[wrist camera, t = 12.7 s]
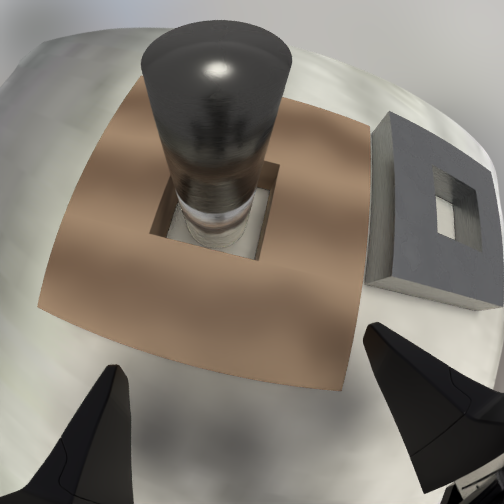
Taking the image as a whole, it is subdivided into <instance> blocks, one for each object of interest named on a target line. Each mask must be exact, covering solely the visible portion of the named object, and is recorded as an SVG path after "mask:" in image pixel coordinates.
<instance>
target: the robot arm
mask: <svg viewBox="0 0 504 504" xmlns="http://www.w3.org/2000/svg"><path fill="white" fill-rule="evenodd" d="M363 344H364V347H365V350H366V353H367V356H368V358H369V361H370V364H371V367H372V370H373V373H374V376H375V378H376V380H377V382H378V385H379V387H380V389H381V391H382V393H383V395H384V398H385V400H386V402H387V404H388V406H389V409H390V411H391V413H392V416H393V418H394V420H395V422H396V425H397V427H398V429H399V432H400V434H401V436H402V439H403V441H404V444H405V446H406V449H407V451H408V454H409V456H410V459H411V461H412V464H413V467H414V469H415V472H416V474H417V477H418V480H419V482H420V485H421V488H422V491H423V493H424V494H426V493H428V492H431V491H433V490H436V489H438V488H440V487H443V486H445V485H447V484H449V483H452V482H453V483H452V484H451V485H449V486H448V487H447V488H446V490H445V493H444V495H443V498H442V501H441V503H440V504H504V393H500V392H497V391H494V390H492V389H490V388H488V387H486V386H484V385H482V384H480V383H478V382H476V381H474V380H472V379H470V378H468V377H466V376H465V375H463V374H461V373H460V372H458V371H456V370H455V369H453V368H451V367H449V366H448V365H447V364H445V363H443V362H442V361H440V360H439V359H437V358H435V357H434V356H432V355H431V354H429V353H428V352H426V351H424V350H423V349H421V348H420V347H418V346H416V345H415V344H413V343H412V342H410V341H408V340H407V339H405V338H404V337H402V336H400V335H399V334H397V333H396V332H394V331H392V330H391V329H389V328H388V327H386V326H384V325H383V324H381V323H379V322H375V323H371V324H369V325H368V326H367V329H366V332H365V334H364V337H363ZM0 504H134V501H133V488H132V469H131V412H130V399H129V383H128V378H127V376H126V375H125V373H124V372H123V370H122V369H121V367H120V366H119V365H117V364H116V365H108V366H107V367H106V368H105V370H104V371H103V372H102V374H101V375H100V377H99V378H98V380H97V381H96V383H95V384H94V386H93V387H92V389H91V390H90V392H89V393H88V395H87V396H86V398H85V399H84V401H83V402H82V404H81V405H80V407H79V408H78V410H77V412H76V413H75V415H74V416H73V418H72V419H71V421H70V423H69V424H68V426H67V427H66V429H65V431H64V432H63V434H62V435H61V438H60V439H59V440H58V442H57V444H56V445H55V447H54V448H53V450H52V451H51V453H50V455H49V456H48V457H47V459H46V460H45V462H44V463H43V464H42V466H41V467H40V468H39V470H38V471H37V472H36V474H35V475H34V476H33V478H32V479H31V480H30V482H29V483H28V484H27V485H26V486H25V487H24V488H22V489H20V490H18V491H16V492H13V493H10V494H8V495H5V496H2V497H0Z"/></svg>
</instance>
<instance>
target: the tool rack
mask: <svg viewBox="0 0 504 504" xmlns="http://www.w3.org/2000/svg"><path fill="white" fill-rule="evenodd" d="M370 178H371V147H370V126H368V125H365V124H363V123H360V122H358V121H355V120H353V119H350V118H347V117H345V116H342V115H339V114H336V113H333V112H330V111H327V110H324V109H321V108H318V107H315V106H312V105H309V104H305V103H302V102H299V101H295V100H291V99H288V98H284V97H282V99H281V103H280V106H279V110H278V113H277V117H276V120H275V124H274V127H273V131H272V134H271V138H270V141H269V145H268V148H267V152H266V155H265V159H264V163H263V166H262V170H261V173H260V177H259V181H258V184H257V187H259V188H263V189H267V190H270V194H269V198H268V203H267V207H266V212H265V216H264V220H263V225H262V229H261V234H260V238H259V242H258V247H257V251H256V255H255V260H252V259H248V258H244V257H240V256H236V255H232V254H228V253H224V252H220V251H216V250H212V249H208V248H204V247H200V246H196V245H192V244H188V243H184V242H180V241H176V240H172V239H168V238H166V235H167V232H168V229H169V226H170V223H171V220H172V217H173V214H174V211H175V208H176V205H177V202H178V200H179V199H178V196H177V193H176V190H175V187H174V184H173V181H172V177H171V174H170V171H169V168H168V165H167V161H166V158H165V155H164V151H163V148H162V144H161V141H160V138H159V134H158V130H157V127H156V123H155V120H154V116H153V112H152V109H151V105H150V101H149V97H148V93H147V89H146V85H145V81H144V77H143V76H140V78H139V79H138V80H137V82H136V83H135V85H134V86H133V87H132V89H131V90H130V92H129V93H128V95H127V96H126V97H125V99H124V100H123V102H122V103H121V105H120V107H119V108H118V110H117V111H116V113H115V114H114V116H113V118H112V119H111V121H110V123H109V124H108V126H107V128H106V129H105V131H104V133H103V134H102V136H101V138H100V140H99V142H98V143H97V145H96V147H95V149H94V151H93V153H92V155H91V157H90V158H89V160H88V162H87V164H86V166H85V168H84V171H83V173H82V175H81V177H80V179H79V181H78V183H77V186H76V188H75V190H74V192H73V195H72V197H71V199H70V202H69V204H68V207H67V209H66V212H65V214H64V217H63V219H62V222H61V225H60V228H59V230H58V233H57V236H56V239H55V242H54V245H53V248H52V252H51V255H50V258H49V261H48V265H47V268H46V272H45V276H44V280H43V284H42V288H41V292H40V297H39V301H38V306H37V307H38V308H40V309H42V310H44V311H46V312H48V313H50V314H52V315H54V316H56V317H58V318H61V319H63V320H65V321H67V322H69V323H72V324H74V325H76V326H78V327H81V328H83V329H85V330H88V331H90V332H93V333H95V334H98V335H100V336H103V337H105V338H108V339H110V340H113V341H116V342H118V343H121V344H124V345H127V346H129V347H132V348H135V349H138V350H141V351H144V352H147V353H150V354H153V355H157V356H160V357H163V358H166V359H170V360H173V361H177V362H180V363H184V364H187V365H191V366H195V367H199V368H203V369H207V370H211V371H215V372H219V373H224V374H228V375H233V376H238V377H243V378H248V379H253V380H259V381H264V382H270V383H276V384H283V385H290V386H297V387H305V388H313V389H322V390H333V391H342V387H343V383H344V379H345V375H346V370H347V366H348V362H349V357H350V353H351V348H352V343H353V338H354V333H355V327H356V322H357V316H358V310H359V304H360V297H361V290H362V283H363V276H364V267H365V258H366V248H367V237H368V224H369V207H370Z"/></svg>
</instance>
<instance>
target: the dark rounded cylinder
mask: <svg viewBox="0 0 504 504" xmlns="http://www.w3.org/2000/svg"><path fill="white" fill-rule="evenodd" d="M291 64H292V55H291V52H290V50H289V48H288V47H287V45H286V44H285V43H284V42H283V41H282V40H281V39H280V38H278V37H277V36H276V35H274V34H273V33H271V32H269V31H267V30H265V29H263V28H261V27H258V26H255V25H251V24H248V23H243V22H237V21H227V20H212V21H202V22H196V23H191V24H187V25H184V26H181V27H178V28H175V29H173V30H171V31H169V32H167V33H165V34H163V35H162V36H160V37H159V38H157V39H156V40H155V41H154V42H152V43H151V44H150V45H149V47H148V48H147V49H146V51H145V52H144V54H143V56H142V60H141V69H142V73H143V77H144V81H145V85H146V89H147V93H148V97H149V101H150V105H151V109H152V112H153V116H154V120H155V123H156V127H157V130H158V134H159V138H160V141H161V144H162V148H163V151H164V155H165V158H166V161H167V165H168V168H169V171H170V174H171V177H172V181H173V184H174V187H175V190H176V193H177V196H178V199H179V202H180V205H181V209H182V212H183V215H184V217H185V220H186V223H187V226H188V229H189V232H190V234H191V235H192V237H193V238H194V239H195V240H196V241H197V242H199V243H200V244H202V245H204V246H206V247H210V248H223V247H227V246H229V245H231V244H233V243H235V242H236V241H237V240H238V239H239V238H240V237H241V236H242V234H243V233H244V231H245V228H246V224H247V221H248V217H249V213H250V210H251V206H252V202H253V199H254V195H255V191H256V188H257V184H258V181H259V177H260V173H261V170H262V166H263V163H264V159H265V155H266V152H267V148H268V145H269V141H270V138H271V134H272V131H273V127H274V124H275V120H276V117H277V113H278V110H279V106H280V103H281V99H282V96H283V92H284V89H285V85H286V82H287V79H288V75H289V72H290V68H291Z"/></svg>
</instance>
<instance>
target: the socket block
mask: <svg viewBox="0 0 504 504" xmlns="http://www.w3.org/2000/svg"><path fill="white" fill-rule="evenodd" d="M372 160H373V172H372V208H371V226H370V239H369V250H368V260H367V269H366V278H365V284H366V285H370V286H374V287H378V288H382V289H386V290H391V291H395V292H399V293H403V294H407V295H411V296H416V297H420V298H424V299H428V300H433V301H437V302H441V303H445V304H450V305H454V306H458V307H462V308H467V309H471V310H475V311H481V310H488V309H495V308H501V307H503V304H504V262H503V246H502V235H501V226H500V218H499V211H498V205H497V199H496V194H495V189H494V184H493V179H492V175H491V172H490V171H489V170H488V169H486V168H485V167H483V166H482V165H481V164H479V163H478V162H477V161H475V160H474V159H472V158H471V157H469V156H468V155H466V154H465V153H463V152H462V151H460V150H459V149H457V148H456V147H454V146H453V145H451V144H450V143H448V142H446V141H445V140H443V139H441V138H440V137H438V136H436V135H435V134H433V133H431V132H429V131H427V130H426V129H424V128H422V127H420V126H418V125H416V124H415V123H413V122H411V121H409V120H407V119H405V118H403V117H401V116H399V115H397V114H395V113H393V112H390V111H389V112H388V113H387V114H386V116H385V117H384V118H383V120H382V121H381V122H380V124H379V125H378V126H377V128H376V129H375V130H374V131H373V133H372ZM435 195H436V196H438V197H440V198H442V199H444V200H446V201H448V202H450V203H452V204H453V208H454V220H455V237H456V241H455V240H453V239H451V238H449V237H446V236H444V235H442V234H439V233H437V211H436V197H435Z"/></svg>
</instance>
